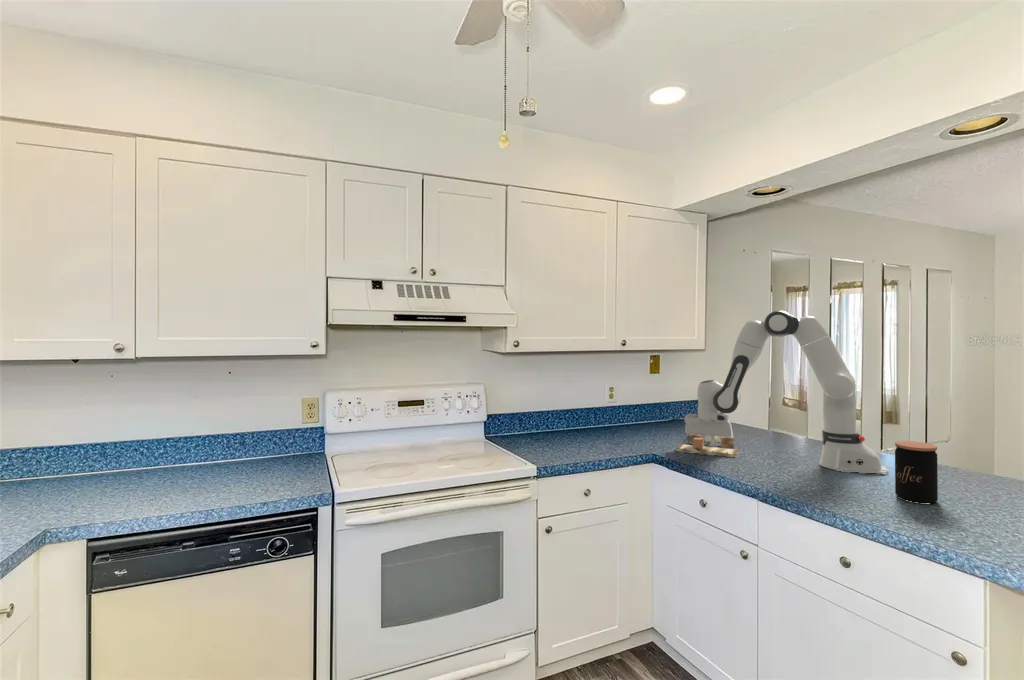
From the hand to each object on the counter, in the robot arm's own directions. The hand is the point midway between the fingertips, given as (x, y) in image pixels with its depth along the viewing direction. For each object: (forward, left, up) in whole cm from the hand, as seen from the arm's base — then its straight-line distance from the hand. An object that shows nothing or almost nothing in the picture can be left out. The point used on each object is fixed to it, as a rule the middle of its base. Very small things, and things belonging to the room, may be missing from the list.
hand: (708, 444), depth 223 cm
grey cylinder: (+1, -16, -4) cm, 16 cm away
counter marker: (+5, +1, -2) cm, 5 cm away
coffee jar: (-68, +37, -4) cm, 78 cm away
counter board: (+1, 0, -4) cm, 4 cm away
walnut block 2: (-6, -15, -4) cm, 17 cm away
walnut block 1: (+8, -15, -4) cm, 17 cm away
